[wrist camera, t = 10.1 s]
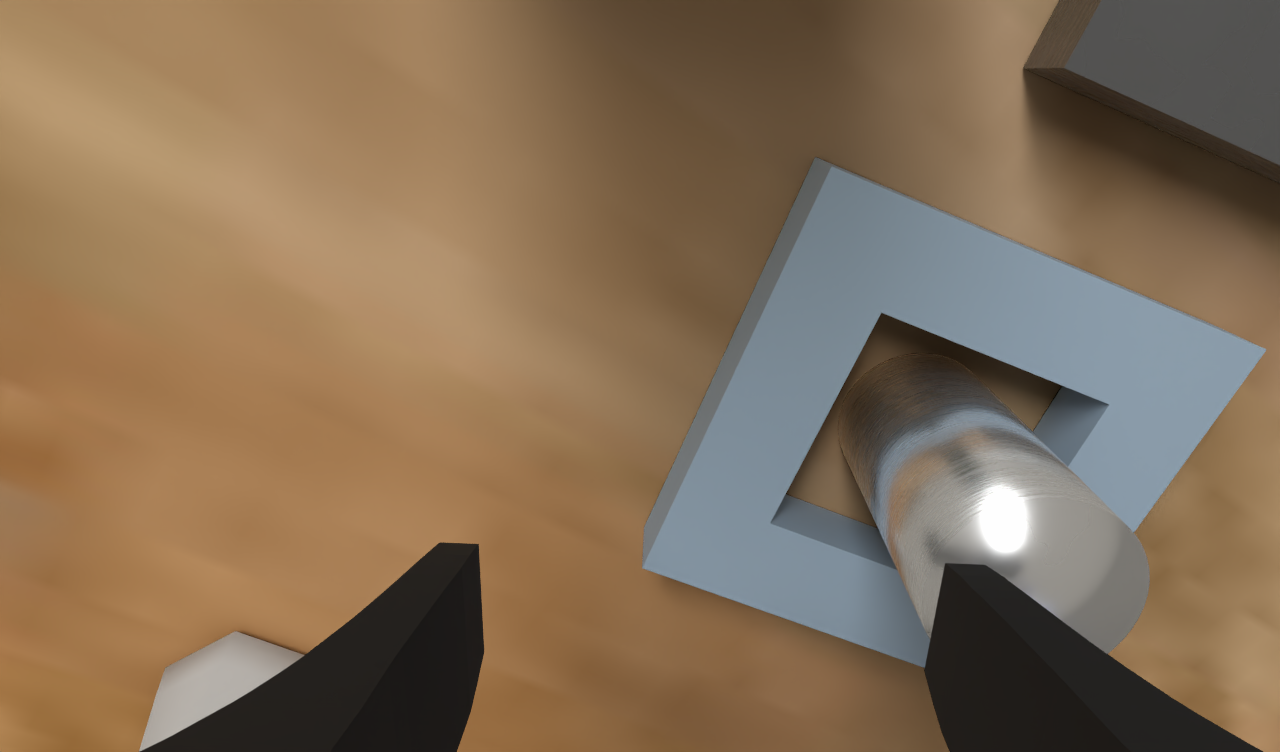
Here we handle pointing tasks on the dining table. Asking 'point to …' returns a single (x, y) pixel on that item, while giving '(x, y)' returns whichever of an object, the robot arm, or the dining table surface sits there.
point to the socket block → (1176, 69)
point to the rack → (951, 308)
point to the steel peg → (985, 498)
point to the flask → (212, 682)
